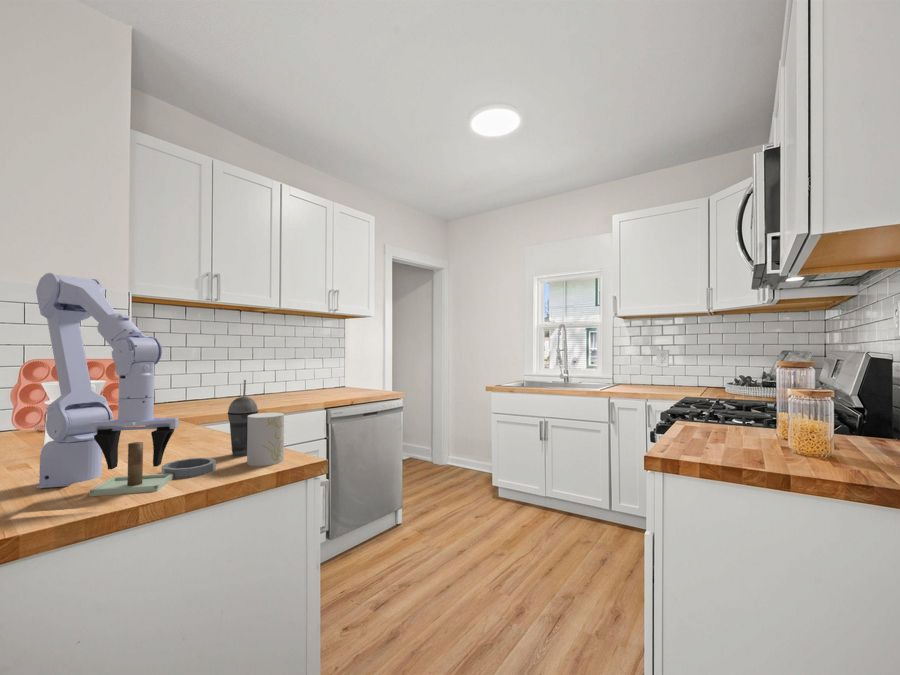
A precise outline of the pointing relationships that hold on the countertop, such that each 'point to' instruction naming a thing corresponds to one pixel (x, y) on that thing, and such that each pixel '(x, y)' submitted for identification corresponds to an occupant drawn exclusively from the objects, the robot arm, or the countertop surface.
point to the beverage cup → (240, 422)
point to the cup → (265, 439)
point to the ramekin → (189, 467)
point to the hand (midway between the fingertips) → (135, 466)
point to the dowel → (135, 463)
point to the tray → (120, 486)
